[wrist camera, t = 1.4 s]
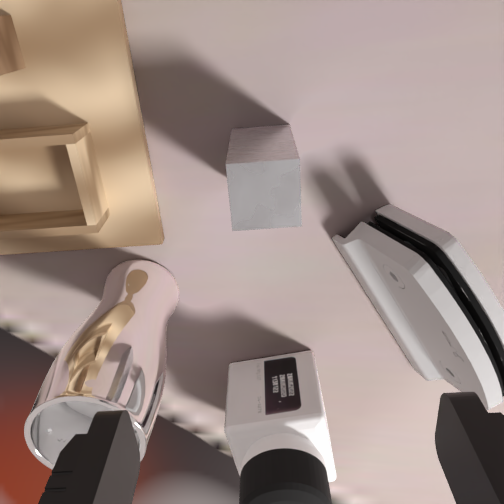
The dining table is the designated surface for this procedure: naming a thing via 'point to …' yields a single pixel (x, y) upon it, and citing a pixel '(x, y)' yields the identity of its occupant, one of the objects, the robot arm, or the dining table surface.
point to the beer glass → (109, 362)
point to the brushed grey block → (263, 178)
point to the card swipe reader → (431, 300)
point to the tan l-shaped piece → (71, 131)
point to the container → (279, 430)
